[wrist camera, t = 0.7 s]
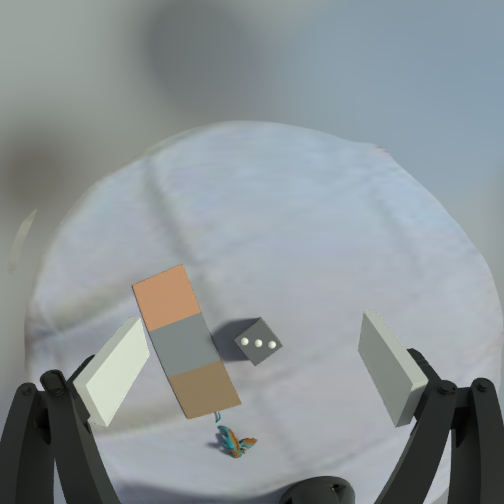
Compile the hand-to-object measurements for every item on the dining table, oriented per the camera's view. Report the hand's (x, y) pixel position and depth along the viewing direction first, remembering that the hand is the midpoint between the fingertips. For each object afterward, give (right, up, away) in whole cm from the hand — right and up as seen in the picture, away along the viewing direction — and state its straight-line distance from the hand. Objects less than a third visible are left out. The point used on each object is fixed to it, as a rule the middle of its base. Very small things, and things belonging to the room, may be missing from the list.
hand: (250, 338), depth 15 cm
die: (+1, -9, +28) cm, 29 cm away
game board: (-11, -11, +28) cm, 32 cm away
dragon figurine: (-3, -27, +25) cm, 37 cm away
